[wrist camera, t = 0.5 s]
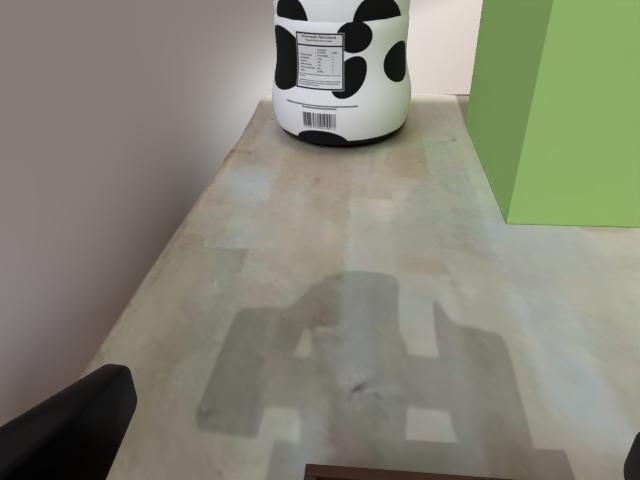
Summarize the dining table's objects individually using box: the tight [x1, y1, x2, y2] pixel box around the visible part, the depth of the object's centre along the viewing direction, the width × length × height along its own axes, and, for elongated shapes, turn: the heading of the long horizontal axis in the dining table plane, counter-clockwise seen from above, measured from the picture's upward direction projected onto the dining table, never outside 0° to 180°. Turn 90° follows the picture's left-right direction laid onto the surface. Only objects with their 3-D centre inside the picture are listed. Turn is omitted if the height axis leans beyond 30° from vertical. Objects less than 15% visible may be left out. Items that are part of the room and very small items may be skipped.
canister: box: [466, 0, 640, 227], centre depth 48 cm, size 25×21×23 cm
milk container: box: [272, 0, 411, 145], centre depth 60 cm, size 17×17×18 cm
